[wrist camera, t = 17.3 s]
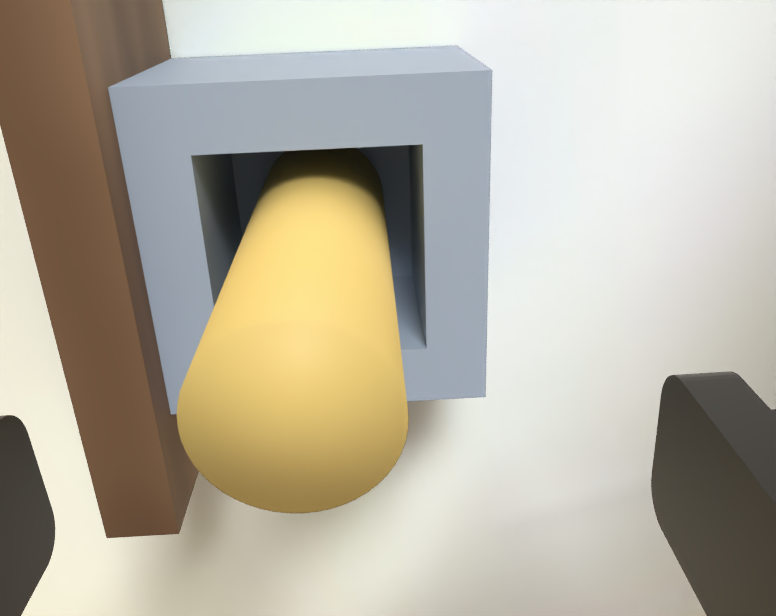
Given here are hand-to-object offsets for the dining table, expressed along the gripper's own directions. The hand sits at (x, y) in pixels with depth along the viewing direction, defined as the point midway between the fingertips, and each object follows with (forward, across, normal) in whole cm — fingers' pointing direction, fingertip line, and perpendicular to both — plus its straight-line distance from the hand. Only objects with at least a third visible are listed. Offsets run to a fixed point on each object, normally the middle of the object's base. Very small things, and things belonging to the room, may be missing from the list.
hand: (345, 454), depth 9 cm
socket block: (+11, +1, 0) cm, 11 cm away
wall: (+11, +5, 0) cm, 12 cm away
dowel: (+10, +1, 0) cm, 10 cm away
